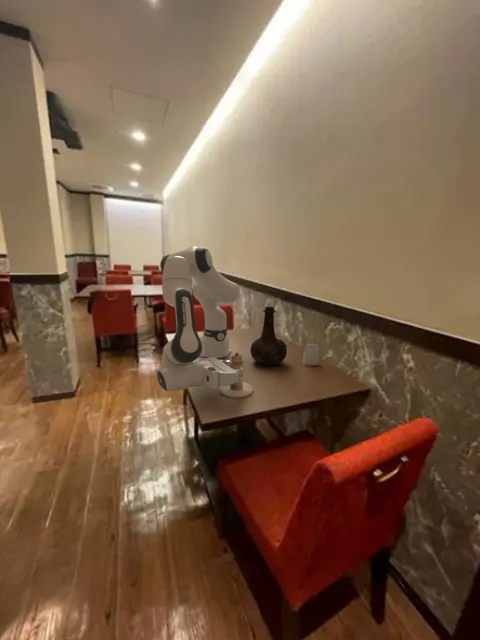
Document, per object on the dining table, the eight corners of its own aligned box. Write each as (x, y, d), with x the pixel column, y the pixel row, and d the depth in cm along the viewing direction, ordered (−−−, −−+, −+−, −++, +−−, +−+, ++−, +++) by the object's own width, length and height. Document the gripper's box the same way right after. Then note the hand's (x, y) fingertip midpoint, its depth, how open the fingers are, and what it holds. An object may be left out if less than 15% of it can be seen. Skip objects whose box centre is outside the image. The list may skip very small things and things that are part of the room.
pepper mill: (227, 386, 122) (227, 351, 119) (238, 384, 125) (239, 350, 122) (233, 391, 118) (234, 355, 115) (245, 388, 121) (245, 353, 118)
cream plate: (214, 387, 124) (214, 385, 123) (241, 381, 130) (241, 379, 130) (229, 400, 113) (230, 398, 113) (259, 393, 119) (259, 390, 119)
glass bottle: (285, 370, 143) (288, 311, 138) (247, 367, 147) (248, 309, 141) (287, 358, 160) (290, 305, 155) (252, 355, 164) (254, 303, 158)
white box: (318, 365, 152) (319, 345, 150) (304, 365, 151) (306, 345, 149) (315, 362, 156) (317, 343, 154) (302, 362, 155) (304, 343, 153)
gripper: (192, 371, 121) (223, 365, 128) (216, 391, 104) (250, 383, 111) (192, 356, 120) (223, 351, 127) (216, 373, 103) (251, 366, 110)
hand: (236, 366), depth 119 cm, fingers open, 8 cm apart
